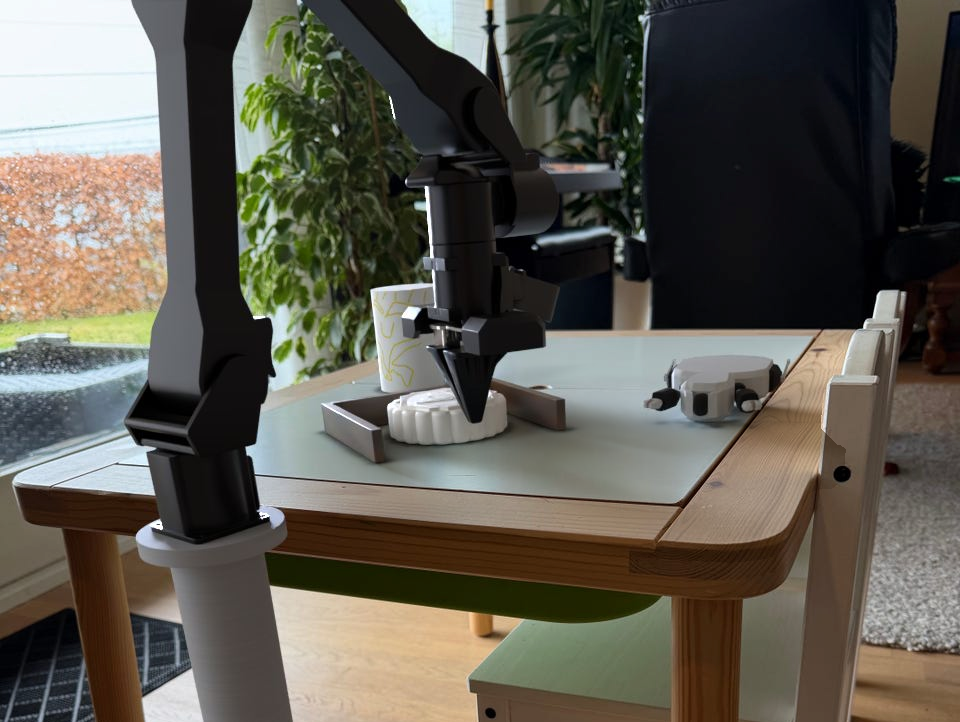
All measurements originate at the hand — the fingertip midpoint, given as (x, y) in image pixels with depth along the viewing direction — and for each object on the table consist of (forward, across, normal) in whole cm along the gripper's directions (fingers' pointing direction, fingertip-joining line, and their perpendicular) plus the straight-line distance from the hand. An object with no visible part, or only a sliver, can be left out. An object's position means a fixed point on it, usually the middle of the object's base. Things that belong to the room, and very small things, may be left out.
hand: (475, 422), depth 91 cm
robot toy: (+2, -3, -26) cm, 26 cm away
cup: (+2, +35, -7) cm, 36 cm away
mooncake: (+3, +8, -1) cm, 9 cm away
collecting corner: (+2, +8, 0) cm, 9 cm away
